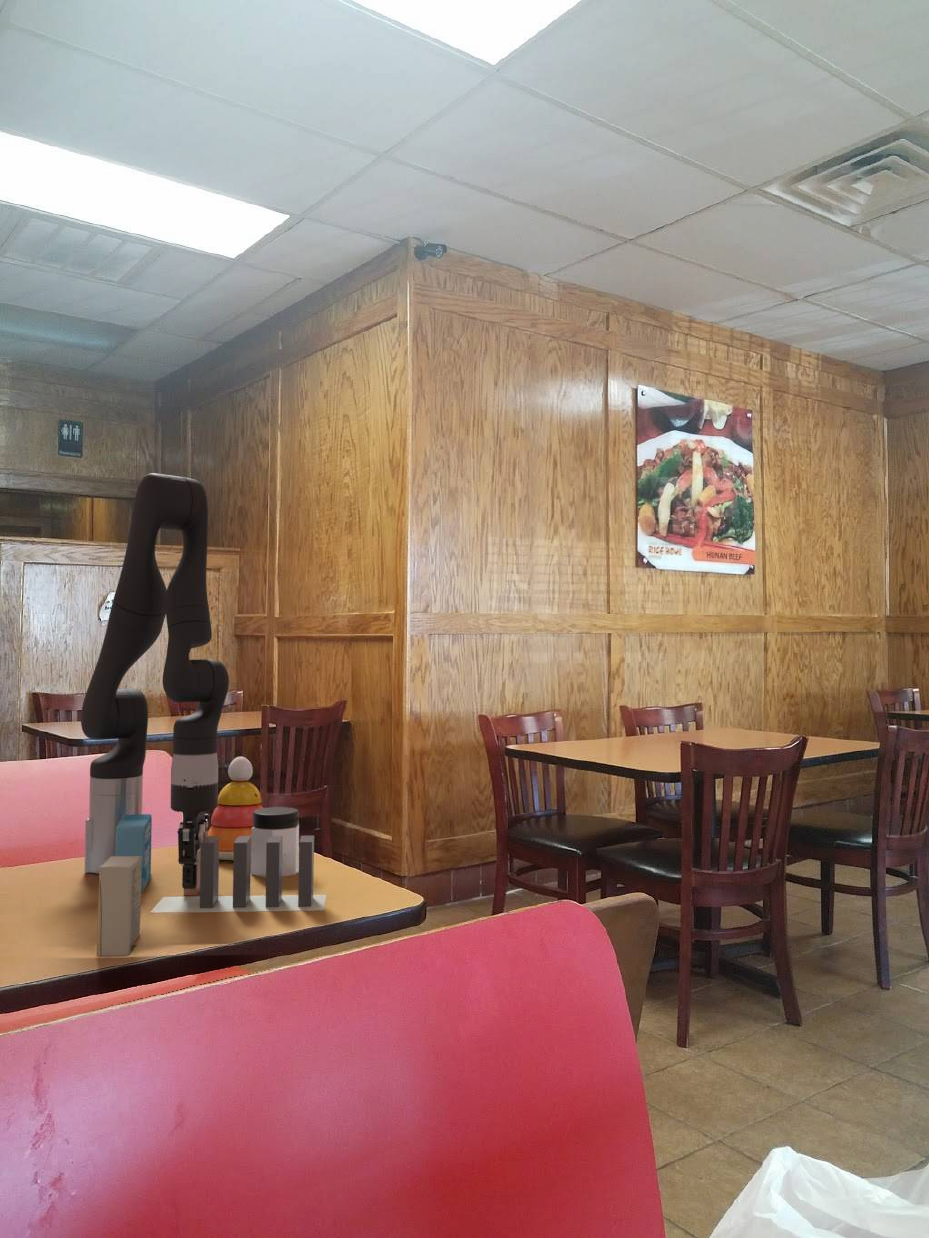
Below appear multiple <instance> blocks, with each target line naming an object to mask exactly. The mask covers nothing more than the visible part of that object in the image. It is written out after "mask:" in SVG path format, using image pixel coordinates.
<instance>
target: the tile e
mask: <svg viewBox="0 0 929 1238" xmlns="http://www.w3.org/2000/svg"><path fill="white" fill-rule="evenodd" d="M314 861H315V835H301V836H300V837H299V861H298V882H297V883H298V885H297V886H298V892H297V893H298V894H297V895H298V907H311V905H312V901H313V895H314V873H315V871H314V869H315V867H314V866H315V862H314Z"/></svg>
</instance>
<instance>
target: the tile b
mask: <svg viewBox="0 0 929 1238" xmlns="http://www.w3.org/2000/svg"><path fill="white" fill-rule="evenodd" d="M219 863H220V859H219V836H209V837H206V838H205V839H204V840H203V841H202V842H201V858H200V890H199V896H200V908H213V907H214V906H215V904H216V902H217V901H218V896H219V879H220V878H219V875H220V873H219V871H220V870H219V869H220V868H219V867H220V866H219V865H220V864H219Z"/></svg>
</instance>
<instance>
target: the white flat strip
mask: <svg viewBox="0 0 929 1238" xmlns="http://www.w3.org/2000/svg"><path fill="white" fill-rule="evenodd" d="M326 900H327V894H313V901H312V905H311V907H298V894H285V895H283V894H282V899H281V902H280V905H279V907H266V894H265V895H250V900H249V902H248V904H247V906H246V908H233V895H218V901H217V902H216V904H215V906H214V907H213V908H200V895H199V896H198V895H191V896H162V898H161V899H160V900H159V902H158V903H156V905H155V906H154V908H153V909H152V910H151V911H150V913H149V914H173V913H174V914H179V913H185V914H186V913H235V912H237V913H239V912H241V913H242V912H243V913H245V912H248V913H249V912H296V911H297V912H299V911H300V912H303V911H304V912H306V911H307V912H310V911H313V912H314V911H324V910H325V904H326Z"/></svg>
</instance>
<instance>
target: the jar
mask: <svg viewBox="0 0 929 1238" xmlns="http://www.w3.org/2000/svg"><path fill="white" fill-rule="evenodd" d="M299 820H300V811H299V809H296V808H295V807H294V808H293V807H287V806H286V807H285V806H271V807H269V806H268V807H263V808H261V809H257V810H255V811H253V828H252V842H251V873H250V876H251V875H252V876H257V877H258V876H259V877H263V878H266V842H267V841H268V839H269V837H270V836H283V849H282V877H285V876H286V877H287V876H294V875H297V873H298V874H299V841H300V830H299V829H300V823H299Z"/></svg>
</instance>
